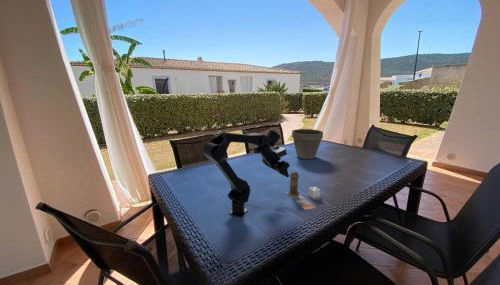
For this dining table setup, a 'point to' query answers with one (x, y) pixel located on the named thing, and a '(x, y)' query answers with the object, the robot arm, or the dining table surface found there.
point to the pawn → (293, 184)
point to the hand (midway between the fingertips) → (283, 173)
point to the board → (301, 199)
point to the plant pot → (306, 142)
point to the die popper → (314, 193)
